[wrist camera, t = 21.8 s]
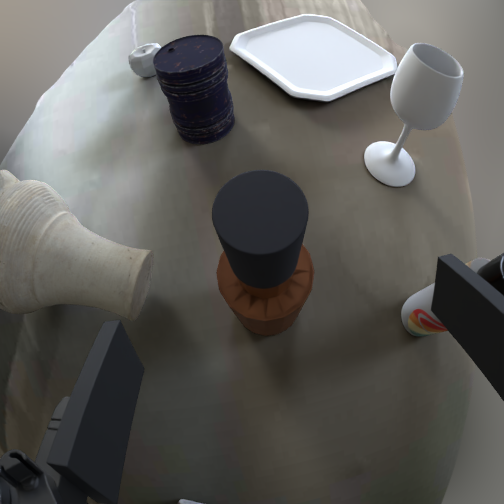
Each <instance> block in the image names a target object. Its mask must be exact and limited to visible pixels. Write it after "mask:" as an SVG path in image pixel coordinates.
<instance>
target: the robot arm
mask: <svg viewBox="0 0 504 504" xmlns="http://www.w3.org/2000/svg"><path fill="white" fill-rule="evenodd" d="M431 311H432V312H433V314H434V315H435V316H436V317H437V318H438V319H439V320H440V322H441V323H442V324H443V325H444V326H445V327H446V329H447V330H448V331H449V332H450V333H451V334H452V336H453V337H454V338H455V339H456V340H457V342H458V343H459V344H460V345H461V346H462V348H463V349H464V350H465V351H466V353H467V354H468V355H469V356H470V358H471V359H472V360H473V361H474V363H475V364H476V365H477V366H478V368H479V369H480V370H481V371H482V373H483V374H484V375H485V377H486V378H487V379H488V381H489V382H490V383H491V385H492V386H493V387H494V389H495V390H496V391H497V393H498V394H499V395H500V397H501V398H502V400H503V401H504V296H503V295H502V294H501V293H500V292H498V291H497V290H496V289H495V288H494V287H493V286H491V285H490V284H489V283H488V282H487V281H485V280H484V279H483V278H482V277H481V276H479V275H478V274H477V273H476V272H474V271H473V270H472V269H471V268H469V267H468V266H467V265H465V264H464V263H463V262H462V261H460V260H459V259H458V258H456V257H455V256H454V255H452V254H448V255H444V256H440V257H438V262H437V271H436V279H435V286H434V293H433V299H432V305H431ZM143 373H144V367H143V365H142V363H141V361H140V359H139V358H138V356H137V354H136V352H135V350H134V348H133V346H132V344H131V342H130V340H129V338H128V336H127V334H126V331H125V329H124V327H123V325H122V323H121V321H120V320H115V321H108V322H104V323H103V325H102V327H101V329H100V331H99V333H98V335H97V337H96V340H95V342H94V344H93V346H92V348H91V350H90V352H89V355H88V357H87V359H86V361H85V363H84V366H83V368H82V370H81V373H80V375H79V377H78V379H77V382H76V384H75V387H74V389H73V391H72V394H71V396H70V397H64V398H63V399H62V400H61V401H60V402H59V404H58V405H57V406H56V408H55V410H54V412H53V415H52V417H51V421H50V422H49V425H48V427H47V428H48V430H46V433H45V435H44V438H43V440H42V443H41V446H40V449H39V451H38V454H37V457H36V460H35V462H33V461H32V460H31V459H30V458H29V457H28V456H27V455H26V454H25V453H23V452H22V451H20V450H16V449H13V450H10V451H8V452H6V453H5V454H4V455H3V456H2V457H1V459H0V504H88V503H87V497H88V496H89V497H90V498H92V499H93V500H95V501H96V502H98V503H104V504H117V502H118V496H119V489H120V483H121V477H122V472H123V466H124V461H125V455H126V450H127V445H128V440H129V435H130V430H131V425H132V421H133V416H134V412H135V407H136V403H137V398H138V394H139V390H140V386H141V381H142V377H143Z"/></svg>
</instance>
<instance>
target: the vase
mask: <svg viewBox="0 0 504 504" xmlns="http://www.w3.org/2000/svg"><path fill="white" fill-rule="evenodd" d="M153 258H154V257H153V252H152V251H151V250H142V249H135V248H131V247H127V246H124V245H121V244H118V243H115V242H112V241H110V240H107V239H105V238H103V237H100V236H98V235H97V234H95V233H93V232H91V231H89V230H88V229H86V228H85V227H84V226H83V225H81V224H80V223H79V222H78V220H77V219H76V217H75V216H74V215H73V214H71V212H70V210H69V208H68V206H67V204H66V203H65V201H64V200H63V199H62V197H61V196H60V195H59V194H58V193H57V192H56V191H55V190H54V189H53V188H51V187H50V186H49V185H47V184H46V183H43V182H41V181H36V180H24V181H21V182H20V181H19V180H18V179H17V178H16V177H15V176H13V175H12V174H11V173H10V172H9V171H7V170H1V171H0V309H2V310H4V311H7V312H10V313H14V314H26V313H31V312H34V311H36V310H39V309H41V308H43V307H49V306H53V305H57V304H70V305H83V306H90V307H95V308H100V309H104V310H107V311H110V312H113V313H116V314H118V315H120V316H123V317H125V318H127V319H129V320H131V321H134V320H135V319H136V318H137V317H138V316H139V314H140V312H141V310H142V308H143V305H144V303H145V300H146V296H147V294H148V290H149V286H150V281H151V273H152V268H153Z"/></svg>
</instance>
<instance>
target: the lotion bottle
mask: <svg viewBox="0 0 504 504" xmlns="http://www.w3.org/2000/svg"><path fill="white" fill-rule="evenodd" d="M465 265H467V266H468V267H469V268H471V269H472V270H473V271H474V272H476V273H477V274H478V275H479V276H481V277H482V278H483V279H484V280H485V281H487V282H488V283H489V284H490V285H491V286H493V287H494V288H495V289H496V290H497V291H498V292H500V293H501V294H502V295H503V296H504V253H503V254H501V255H499V256H498V257H496V258H495V259H493V260H491V261H490V260H489V259H486V258H476V259H474V260H472V261H470V262H468V263H467V264H465ZM434 286H435V283H433V284H432V285H430V286H428V287H426V288H425V289H423V290H421V291H419V292H417V293H416V294H414V295H412V296H411V297H410V298H408V299H407V301H406V302H405V303H404V305H403V308H402V313H401V317H402V322H403V325H404V327H405V329H406V330H407V331H408V332H409V333H410V334H412V335H414V336H419V337H421V336H428V335H432V334H436V333H440V332H444V331H448V330H447V329H446V327H445V326H444V325H443V324H442V323H441V322H440V320H439V319H438V318H437V317H436V316H435V315H434V314H433V312H432V311H431V305H432V299H433V293H434Z"/></svg>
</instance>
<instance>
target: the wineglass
mask: <svg viewBox="0 0 504 504" xmlns="http://www.w3.org/2000/svg"><path fill="white" fill-rule="evenodd" d="M463 75H464V73H463V69H462V67H461V65H460V64H459V63H458V62H457V61H456V60H455V59H454V58H453V57H452V56H451V55H449V54H448V53H446V52H445V51H443V50H442V49H440V48H437V47H435V46H433V45H429V44H425V43H416V44H413V45H412V46H411V47H410V49H409V50H408V51H407V53H406V54H405V56H404V57H403V59H402V61H401V62H400V64H399V66H398V68H397V70H396V73H395V76H394V79H393V82H392V86H391V92H390V97H391V103H392V106H393V109H394V111H395V113H396V114H397V116H398V117H399V118H400V119H401V121H403V122H404V128H403V130H402V133H401V135H400V137H399V139H398V141H397V143H396V144H393V143H390V142H384V141H381V142H375V143H373V144H371V145H370V146H368V148H367V149H366V151H365V154H364V160H365V164H366V166H367V168H368V170H369V172H370V173H371V174H372V175H373V176H374V177H375V178H376V179H377V180H379V181H380V182H382V183H384V184H387V185H390V186H395V187H400V186H405V185H407V184H409V183H410V182H411V181H412V180H413V178H414V176H415V165H414V163H413V160H412V158H411V157H410V156H409V154H408V153H407V152H406V151H405V150H404V149H402V146H403V144H404V142H405V140H406V138H407V136H408V134H409V133H410V131H411V130H412V129H413V128H414V129H418V130H431V129H434V128H437V127H439V126H440V125H442V124H443V123H444V122H445V121H446V120H447V118H448V117H449V115H450V114H451V112H452V110H453V109H454V107H455V105H456V102H457V100H458V97H459V94H460V90H461V86H462V81H463Z"/></svg>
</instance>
